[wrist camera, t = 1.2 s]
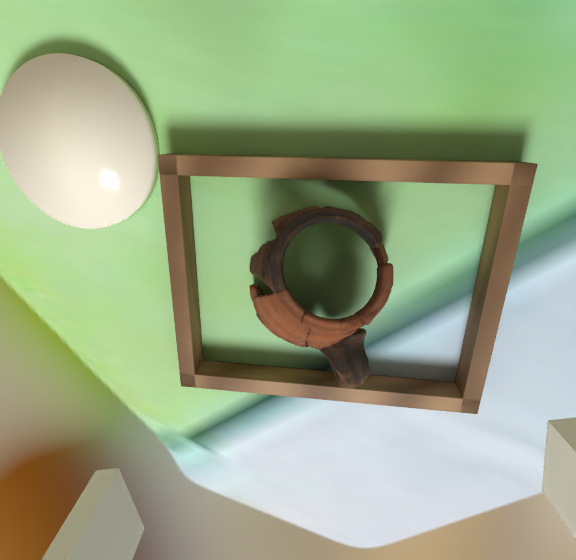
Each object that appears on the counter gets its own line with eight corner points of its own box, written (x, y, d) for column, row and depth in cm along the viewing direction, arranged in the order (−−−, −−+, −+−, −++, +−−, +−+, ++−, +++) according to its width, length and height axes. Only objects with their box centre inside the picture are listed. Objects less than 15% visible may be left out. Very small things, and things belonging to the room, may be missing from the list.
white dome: (149, 55, 23) (142, 52, 23) (167, 228, 27) (161, 231, 26) (-10, 56, 25) (-23, 53, 24) (28, 222, 29) (18, 225, 28)
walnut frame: (521, 161, 23) (537, 163, 21) (468, 396, 29) (477, 414, 27) (170, 153, 25) (157, 154, 24) (190, 371, 32) (181, 386, 30)
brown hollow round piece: (223, 258, 28) (221, 235, 20) (329, 205, 30) (367, 165, 22) (297, 399, 28) (326, 434, 20) (399, 338, 30) (464, 347, 22)
